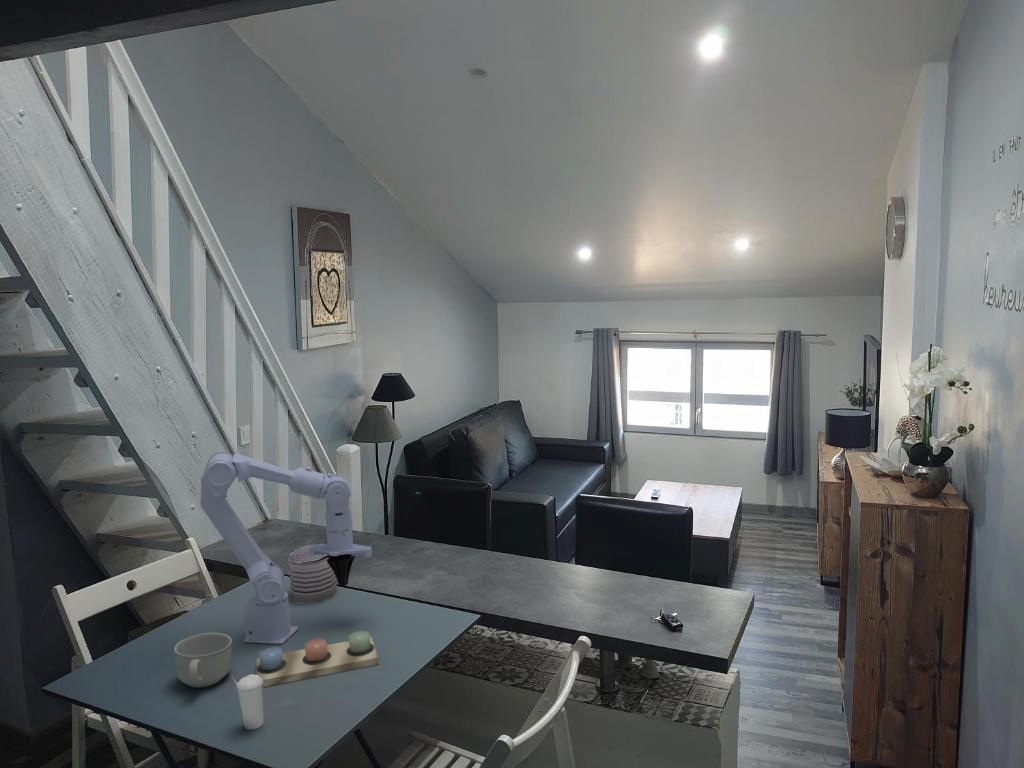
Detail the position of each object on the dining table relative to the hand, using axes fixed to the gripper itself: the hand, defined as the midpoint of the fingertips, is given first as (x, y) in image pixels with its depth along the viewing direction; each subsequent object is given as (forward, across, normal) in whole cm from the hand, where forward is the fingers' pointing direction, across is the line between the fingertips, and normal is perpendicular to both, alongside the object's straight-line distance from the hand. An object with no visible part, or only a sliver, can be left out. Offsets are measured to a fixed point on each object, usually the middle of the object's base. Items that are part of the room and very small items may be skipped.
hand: (343, 585), depth 173 cm
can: (+10, -15, +14) cm, 23 cm away
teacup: (+10, -18, -29) cm, 36 cm away
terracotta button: (+7, +2, -19) cm, 21 cm away
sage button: (+7, +10, -14) cm, 19 cm away
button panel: (+9, +2, -19) cm, 21 cm away
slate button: (+7, -6, -24) cm, 25 cm away
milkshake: (+10, 0, -41) cm, 42 cm away
